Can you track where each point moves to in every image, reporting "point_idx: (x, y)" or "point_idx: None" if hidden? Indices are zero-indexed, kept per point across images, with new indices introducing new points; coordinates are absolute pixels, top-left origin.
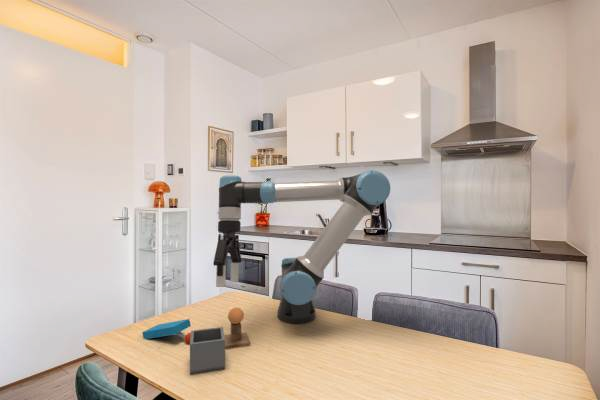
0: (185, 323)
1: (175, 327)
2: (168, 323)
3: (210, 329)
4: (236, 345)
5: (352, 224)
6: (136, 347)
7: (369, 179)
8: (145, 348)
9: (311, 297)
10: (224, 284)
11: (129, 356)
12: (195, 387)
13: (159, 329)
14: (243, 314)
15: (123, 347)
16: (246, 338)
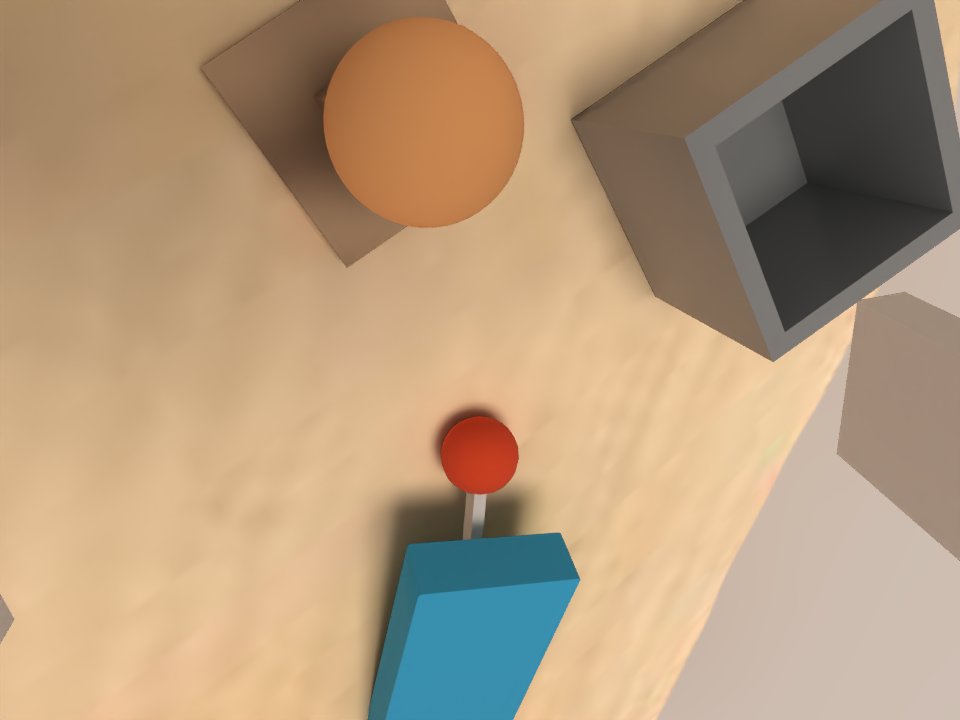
0: (466, 572)
1: (568, 571)
2: (416, 700)
3: (743, 223)
4: None
5: None
6: (590, 646)
7: None
8: (592, 602)
9: None
10: (940, 310)
11: (674, 597)
12: None
13: (540, 660)
14: (405, 19)
15: (600, 694)
16: (339, 6)
